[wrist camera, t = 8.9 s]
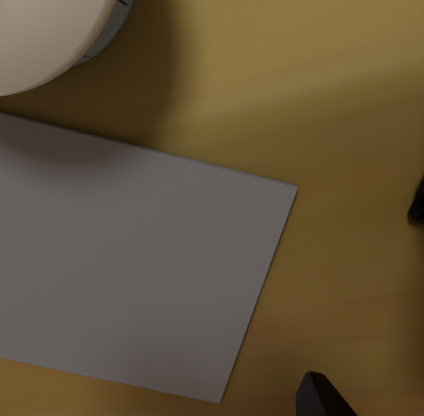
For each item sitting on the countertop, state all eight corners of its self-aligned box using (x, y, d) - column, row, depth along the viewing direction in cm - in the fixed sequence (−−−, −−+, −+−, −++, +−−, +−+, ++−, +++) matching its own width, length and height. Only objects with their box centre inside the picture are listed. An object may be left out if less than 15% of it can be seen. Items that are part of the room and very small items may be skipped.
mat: (296, 185, 19) (297, 187, 19) (219, 398, 26) (219, 404, 25) (-18, 106, 18) (-24, 107, 18) (-13, 349, 25) (-18, 354, 24)
